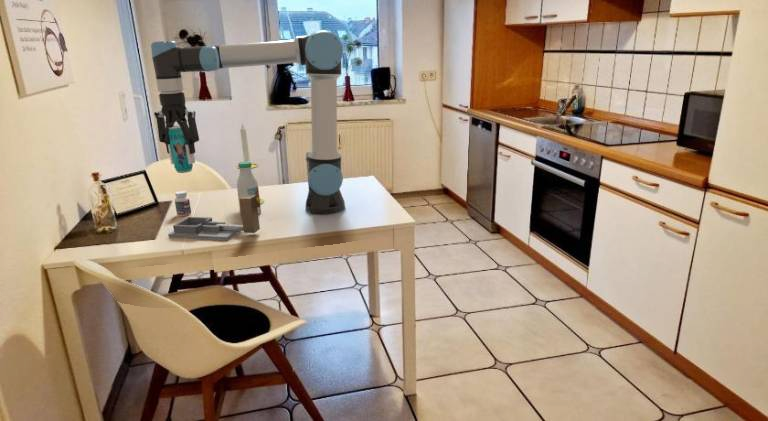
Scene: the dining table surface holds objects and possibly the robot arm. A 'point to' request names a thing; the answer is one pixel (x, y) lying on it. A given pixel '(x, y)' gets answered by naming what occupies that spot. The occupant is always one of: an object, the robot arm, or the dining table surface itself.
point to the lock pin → (245, 216)
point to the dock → (201, 229)
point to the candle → (246, 151)
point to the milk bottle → (247, 183)
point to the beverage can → (179, 150)
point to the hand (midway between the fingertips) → (183, 163)
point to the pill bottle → (182, 204)
